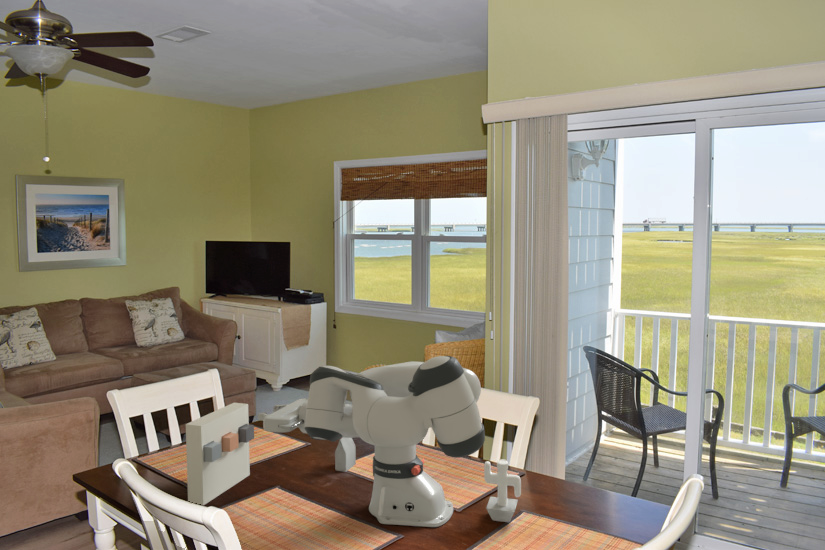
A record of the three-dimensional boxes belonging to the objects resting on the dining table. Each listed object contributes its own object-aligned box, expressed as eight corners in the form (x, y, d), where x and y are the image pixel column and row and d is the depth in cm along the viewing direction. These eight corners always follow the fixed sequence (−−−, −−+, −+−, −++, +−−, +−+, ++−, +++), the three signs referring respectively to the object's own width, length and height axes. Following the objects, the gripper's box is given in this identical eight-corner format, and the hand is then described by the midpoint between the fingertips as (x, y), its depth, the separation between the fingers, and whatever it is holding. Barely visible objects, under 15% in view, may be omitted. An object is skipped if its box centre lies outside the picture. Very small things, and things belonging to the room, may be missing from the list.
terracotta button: (238, 447, 179) (238, 433, 178) (230, 452, 175) (229, 438, 175) (226, 445, 180) (226, 432, 180) (218, 450, 176) (217, 436, 176)
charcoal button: (254, 438, 186) (253, 425, 186) (246, 442, 182) (246, 429, 182) (242, 436, 187) (242, 423, 187) (234, 441, 184) (234, 428, 183)
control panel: (249, 474, 189) (248, 404, 187) (203, 505, 168) (201, 426, 166) (235, 472, 190) (234, 402, 189) (188, 502, 170) (185, 424, 168)
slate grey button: (221, 457, 171) (221, 442, 171) (212, 462, 167) (211, 447, 167) (209, 455, 172) (208, 441, 172) (199, 460, 169) (199, 446, 168)
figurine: (518, 526, 156) (519, 468, 155) (481, 521, 159) (482, 464, 157) (522, 513, 163) (522, 458, 162) (486, 509, 165) (486, 454, 164)
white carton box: (355, 464, 197) (355, 433, 197) (346, 471, 191) (345, 440, 190) (345, 462, 199) (344, 432, 198) (335, 470, 192) (334, 438, 192)
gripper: (292, 440, 158) (245, 435, 163) (328, 417, 177) (286, 413, 182) (292, 416, 158) (245, 411, 162) (328, 396, 177) (285, 391, 181)
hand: (267, 412), depth 172 cm, fingers open, 6 cm apart
